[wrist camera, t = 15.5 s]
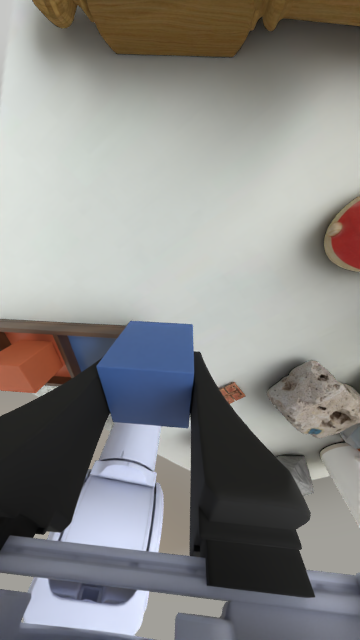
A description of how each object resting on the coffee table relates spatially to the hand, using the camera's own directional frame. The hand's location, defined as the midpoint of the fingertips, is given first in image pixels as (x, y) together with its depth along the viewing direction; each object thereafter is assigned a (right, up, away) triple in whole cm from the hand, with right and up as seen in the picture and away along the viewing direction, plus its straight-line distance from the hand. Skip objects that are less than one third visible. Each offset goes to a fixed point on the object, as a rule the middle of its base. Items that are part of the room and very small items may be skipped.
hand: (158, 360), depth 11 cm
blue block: (0, +1, +1) cm, 1 cm away
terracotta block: (-18, -2, +11) cm, 21 cm away
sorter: (-14, -2, +11) cm, 18 cm away
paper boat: (+24, -28, +23) cm, 43 cm away
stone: (+20, -7, +12) cm, 25 cm away
